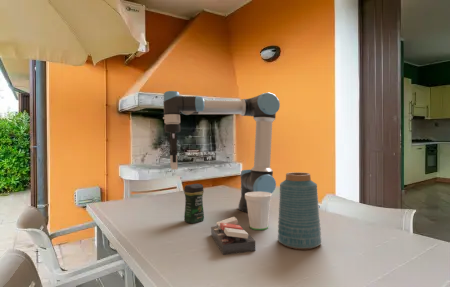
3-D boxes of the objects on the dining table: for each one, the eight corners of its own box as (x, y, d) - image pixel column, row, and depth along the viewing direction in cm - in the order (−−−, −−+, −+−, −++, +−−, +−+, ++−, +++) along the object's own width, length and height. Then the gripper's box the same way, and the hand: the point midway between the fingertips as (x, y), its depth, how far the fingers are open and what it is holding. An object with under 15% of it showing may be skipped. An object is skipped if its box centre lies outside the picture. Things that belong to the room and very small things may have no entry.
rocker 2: (238, 229, 110) (239, 224, 110) (242, 232, 105) (243, 228, 105) (219, 226, 108) (220, 222, 108) (222, 230, 103) (223, 225, 104)
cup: (274, 224, 128) (274, 192, 128) (270, 232, 117) (269, 197, 116) (249, 222, 132) (248, 190, 132) (242, 230, 121) (241, 196, 121)
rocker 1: (234, 220, 116) (233, 216, 116) (238, 223, 112) (237, 219, 112) (217, 226, 114) (216, 222, 114) (219, 229, 110) (218, 225, 110)
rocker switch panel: (233, 227, 125) (233, 217, 125) (255, 250, 98) (255, 238, 98) (208, 229, 122) (208, 219, 122) (223, 254, 95) (222, 241, 95)
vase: (315, 254, 94) (314, 177, 94) (271, 245, 103) (270, 175, 102) (325, 239, 108) (324, 172, 107) (286, 232, 116) (284, 170, 116)
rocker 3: (243, 234, 104) (244, 229, 104) (247, 238, 99) (248, 233, 99) (223, 231, 102) (224, 227, 102) (226, 235, 97) (227, 231, 97)
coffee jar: (192, 224, 130) (191, 186, 130) (181, 221, 135) (181, 184, 135) (207, 220, 137) (206, 183, 137) (196, 217, 142) (196, 182, 142)
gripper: (164, 125, 142) (165, 166, 142) (164, 122, 117) (166, 171, 118) (178, 125, 143) (179, 165, 144) (182, 122, 119) (183, 170, 119)
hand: (173, 168), depth 131 cm, fingers open, 13 cm apart
